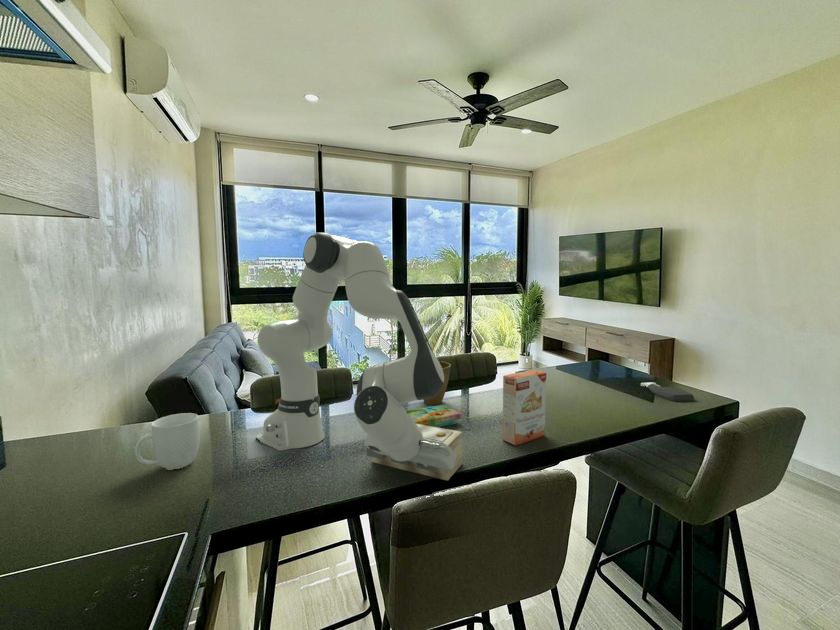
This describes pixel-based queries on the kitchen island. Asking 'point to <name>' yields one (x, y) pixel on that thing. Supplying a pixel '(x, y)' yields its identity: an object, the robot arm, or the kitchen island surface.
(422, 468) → the button right
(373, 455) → the button left
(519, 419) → the cracker box
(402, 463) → the button middle
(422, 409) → the puzzle game
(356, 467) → the kitchen island surface
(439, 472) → the console
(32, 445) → the kitchen island surface
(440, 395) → the plant pot
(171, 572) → the kitchen island surface
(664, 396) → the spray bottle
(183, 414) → the mug
